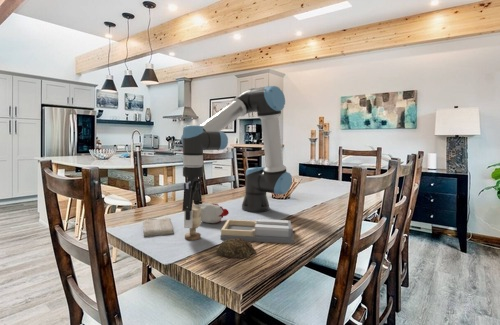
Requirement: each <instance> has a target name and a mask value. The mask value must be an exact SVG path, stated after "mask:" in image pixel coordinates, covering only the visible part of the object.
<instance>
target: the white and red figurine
mask: <svg viewBox="0 0 500 325" xmlns="http://www.w3.org/2000/svg"><path fill="white" fill-rule="evenodd" d="M199 205H200V207H201V223H206V224H218V223H221V221H222V220H223V218H224V217H227V216H228V215H229V210H228V209H227V208H223V206H220V205H219V204H218V203H209V202H202V204H199Z"/></svg>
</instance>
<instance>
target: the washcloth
mask: <svg viewBox="0 0 500 325" xmlns="http://www.w3.org/2000/svg"><path fill="white" fill-rule="evenodd" d="M142 228H143V237H153V236H159V235H160V236H163V235H173V234H174V233H175V231H174V227H173V223H172V221H171V218H170V217H164V218H149V219H144V220H143V222H142Z"/></svg>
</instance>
